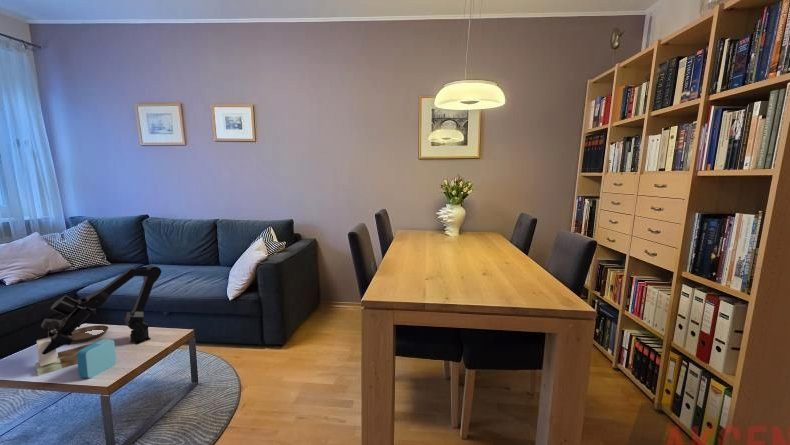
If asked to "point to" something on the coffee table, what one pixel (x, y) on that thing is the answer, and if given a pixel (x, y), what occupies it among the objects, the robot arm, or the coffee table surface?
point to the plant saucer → (81, 336)
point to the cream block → (48, 357)
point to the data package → (96, 358)
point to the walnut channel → (61, 360)
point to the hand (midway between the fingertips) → (42, 352)
